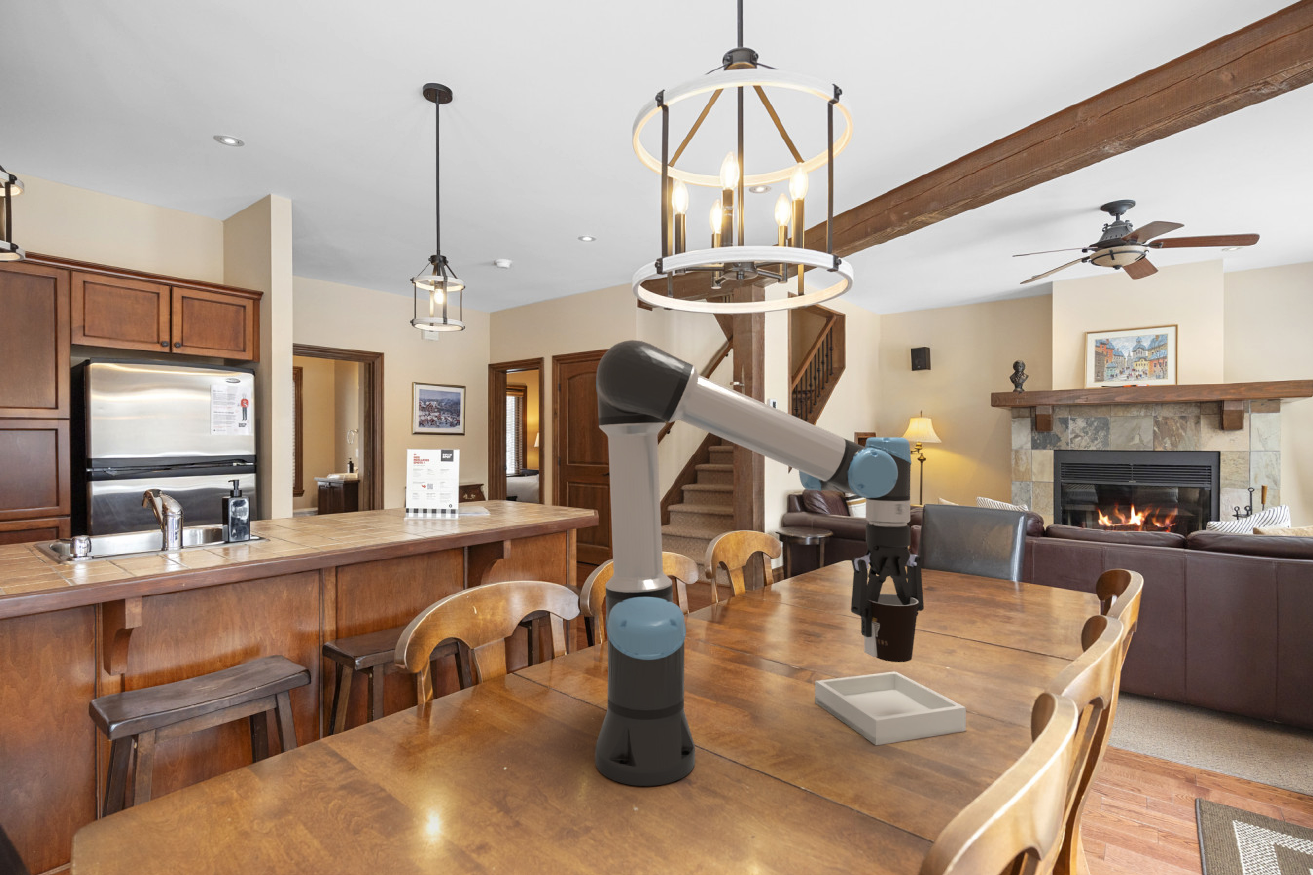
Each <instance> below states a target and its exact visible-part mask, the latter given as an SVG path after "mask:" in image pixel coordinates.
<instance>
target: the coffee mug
mask: <svg viewBox="0 0 1313 875" xmlns="http://www.w3.org/2000/svg"><path fill="white" fill-rule="evenodd" d="M868 601H869V602H870V603H871V604H872V614H873V619H872V623H873V624H874V629H875V639H876V649H877V657H875V658H877V659H878V660H882V661H885V662H891V663H906V662H907V663H908V662H910V661H912V660H913V652H914V643H915V634H916V626H917V618H918V616H917V612H918V611H917V610H918V602H919V601H918V600H917V599H915V598H912V597H911V598H910V605H903V604H902V603H901V601H900V600H899V598H898V597H897V594H896V593H895V594H894V593H880V596H879V599H878V603H877V602H874V601H870V600H868Z"/></svg>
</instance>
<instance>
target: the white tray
mask: <svg viewBox="0 0 1313 875" xmlns="http://www.w3.org/2000/svg"><path fill="white" fill-rule="evenodd" d="M814 682H815V683H814V684H815V685H814V687H815V688H814V692H815V693H814V695H815V696H814V703H815V704H817V705H818V706H819V707H821V708H822V709H824V710H825V711H827V712H828V713H829V714H831V715H832V716H834V717H835V718H837V719H838V720H839V721H841V722H842V723H843V724H845V725H846V726H848V727H849V728H851V729H852V730H854V731H855V732H856V733H858V734H859V735H861V736H862V737H863V738H865V739H866V740H868V741H869V742H870V743H872V744H874V746H883V745H888V744H893V743H899V742H907V741H911V740H917V739H923V738H924V739H925V738H930V737H937V736H943V735H950V734H956V733H962V732H966V730H967V727H966V726H967V725H966V723H967V722H966V721H967V720H966V719H967V715H966V714H967V713H966V711H967V709H966V708H967V707H966V706H963V705H962V704H960V703H958V702H957V701H954V700H952V699H950V698H949V697H946V696H944V695H942V694H941V693H938V691H937V692H936V691H935V690H933V689H931V688H929V687H927V686H925V685H923V684H921V683H919V682H917V681H915V680H913V679H912V678H909V677H907V676H906V675H903V674H901V673H900V672H897V671H896V670H895V671H894V670H893V671H888V672H881V673H880V672H878V673H872V674H871V673H870V674H869V673H868V674H862V675H853V676H846V677H838V678H837V677H835V678H830V679H821V680H820V679H819V680H815V681H814Z"/></svg>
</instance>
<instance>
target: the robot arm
mask: <svg viewBox="0 0 1313 875" xmlns="http://www.w3.org/2000/svg"><path fill="white" fill-rule="evenodd" d="M595 382H596V383H595V386H596V387H595V388H596V393H597V413H598V428H599V429H600V430H601V431H602V432H603V433H605V435H606V436H607V441H608V442H607V444H608V465H609V466H608V467H609V488H610V489H609V491H610V493H609V494H610V515H611V539H612V542H611V543H612V563H613V564H612V565H613V566H612V567H613V568H612V569H613V575H612V576H611V577H610V578H609V579H608V580H607V582H605V585H604V586H605V608H606V610H605V611H606V615H605V629H606V633H607V638H606V639H607V709H606V710H607V711H606V713H605V716H604V718H603V719H604V720H603V722H602V725H601V729H600V731H599V733H598V734H599V735H598V737H597V740H596V744H595V749H594V750H595V754H594V758H595V761H594V762H595V766H596V768H597V770H598V771H599V772H600V773H601V774H602V776H604V777H606V778H608V779H610V780H611V781H614V782H617V783H621V784H624V785H629V786H640V787H653V786H662V785H667V784H670V783H674V782H677V781H678V780H681V779H683V778H685V777H686V776H687V775H689V774H690V773H691V772H692V770H693V769H694V768H695V764H696V746H695V742H694V739H693V735H692V732H691V729H690V726H689V722H688V719H687V715H686V713H685V704H684V703H685V639H686V636H687V628H686V623H685V616H684V612H683V610H682V609H681V608H680V606H678V605H677V604H676V603H674V597H673V596H674V595H673V580H672V579H671V577H669V576H667V574H666V573H665V572H664V566H663V565H664V564H663V563H664V562H663V545H662V544H663V539H662V518H661V516H662V514H661V513H662V512H661V494H660V493H661V490H660V486H661V485H660V467H659V466H660V464H659V444H658V442H659V441H658V435H659V433H660V431H661V430H662V429H663V428H664V427H665V426H666V425H667V424H666V423H667V422H668V423H673V422H675V421H681V422H684V423H686V424H688V425H691V426H693V427H696V428H697V429H701V430H703V431H705V432H707V433H710V434H711V435H714V436H716V437H719V438H720V439H724V440H726V441H729V442H731V443H734V445H735V444H736V445H738V446H740V447H742V448H745V449H748V450H749V451H752V452H755V453H757V454H760V455H762V456H764V457H766V458H769V459H771V460H774V461H775V462H778V463H781V464H783V465H784V466H788V467H789V468H793V470H794V469H795V470H797V471H798V473H799V474H798V475H799V476H798V477H799V480H800V481H799V482H800V483H801V486H802V487H803V488H804V489H806V490H809V491H818V492H822V491H834V492H839V493H844V494H851V495H855V496H858V497H861V498H863V499H865V520H866V521H867V522H868V523H867V524H866V525H865V542H866V545H867V550H866V552H865V555H864V556H862V557H853V558H852V559H851V564H852V569H853V579H852V591H851V605H850V612H851V613H852V614H854V615H857V616H859V617H860V620H861V621H860V623H861V624H860V625H861V626H860V627H861V628H860V629H861V631H860V632H861V635H862V636H864V639H863V640H864V643H863V644H864V648H863V650H864V653H865V654H867V655H868V656H871V657H873V658H876V657H877V649H876V639H875V629H874V624H873V623H872V619H873V614H872V604H871V603H870V602H869V601H868V600H870V601H874V602H877V603H878V599H879V596H880V594H881V593H882V592H881V591H882V589H883V588H882V587H883V584H884V583H885V582H886V580H887V578H888V577H890V578H891V580H892V582H893V583H892V584H893V586H894V590H895V594H897V597H898V598H899V600H900V601H901V603H902V604H903V605H910V598H911V597H912V598H915V599H917V600H918V601H919V602H918V610H917V617H918V616H919V612H922V611H923V610H924V608H925V606H924V593H923V592H924V591H923V576H922V568H923V563H924V557H923V556H921V555H918V554H917V555H916V554H913V553H910V551H909V547H910V546H911V527H910V525H909V524H908V523H910V522H911V471H912V470H911V466H912V459H911V458H912V457H911V446H910V445H911V444H910V442H909V440H908V439H907V438H905V437H900V436H899V437H895V436H894V437H885V436H884V437H881V436H880V437H868V438H867V439H866V442H865V445H864V446H863V445H861V444H859V443H856V442H854V441H851V440H848V439H846V438H843V436H841V435H838V434H836V433H834V432H831V431H828V430H826V429H825V428H822V427H819V426H817V425H814V424H813V423H810V422H808V421H805V420H804V419H801V418H800V417H797V416H795V415H792V414H789V413H788V412H785V411H784V410H783V411H782V410H781V409H778V408H776V407H774V406H771V405H769V404H767V403H765V402H762V401H760V400H757V399H755V398H753V397H750V396H748V395H746V394H744V393H742V392H739V391H737V390H734V389H732V388H730V387H727V386H726V385H723V384H721V383H718V382H716V381H714V380H712V379H710V378H706V377H705V376H703V375H700V374H699V373H698V371H697V368H696V366H695V365H694V364H692V363H690V362H687V361H685V360H682V359H680V358H678V356H677V357H676V356H675V355H672V354H671V353H668V352H667V351H665V350H662V349H661V348H658V347H657V346H654V345H652V344H651V343H648V342H645V341H642V340H633V339H629V340H625V341H622V342H618V343H616V344H614V345H613V346H611V347H610V348H609V349H608V350H606V352H604V354H603V355H602V357H601V358H600V360H599V363H598V365H597V369H596V380H595ZM868 569H869V570H868Z"/></svg>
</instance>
